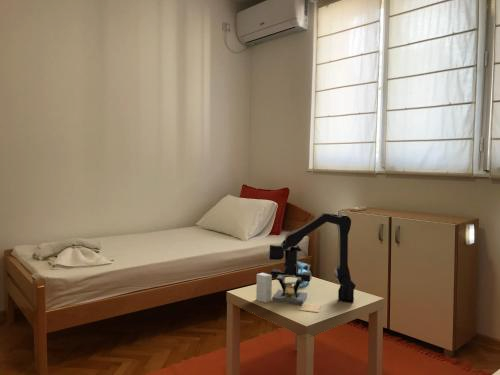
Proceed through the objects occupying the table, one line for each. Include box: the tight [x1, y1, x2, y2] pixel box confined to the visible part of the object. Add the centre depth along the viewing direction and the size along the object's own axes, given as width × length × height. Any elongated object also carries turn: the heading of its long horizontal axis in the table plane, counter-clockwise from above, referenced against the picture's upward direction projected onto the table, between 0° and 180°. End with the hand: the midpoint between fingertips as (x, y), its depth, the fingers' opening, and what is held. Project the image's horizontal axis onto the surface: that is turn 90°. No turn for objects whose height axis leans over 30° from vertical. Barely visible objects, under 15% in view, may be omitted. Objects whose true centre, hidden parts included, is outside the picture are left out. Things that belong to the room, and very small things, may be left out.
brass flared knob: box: [284, 281, 297, 299], centre depth 188 cm, size 6×6×7 cm
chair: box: [292, 261, 312, 288], centre depth 210 cm, size 8×8×12 cm
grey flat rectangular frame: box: [271, 289, 308, 306], centre depth 188 cm, size 14×12×2 cm
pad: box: [299, 302, 322, 314], centre depth 176 cm, size 8×8×1 cm
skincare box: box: [255, 272, 273, 304], centre depth 185 cm, size 6×4×12 cm
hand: (290, 293), depth 188 cm, fingers closed on brass flared knob, 5 cm apart
